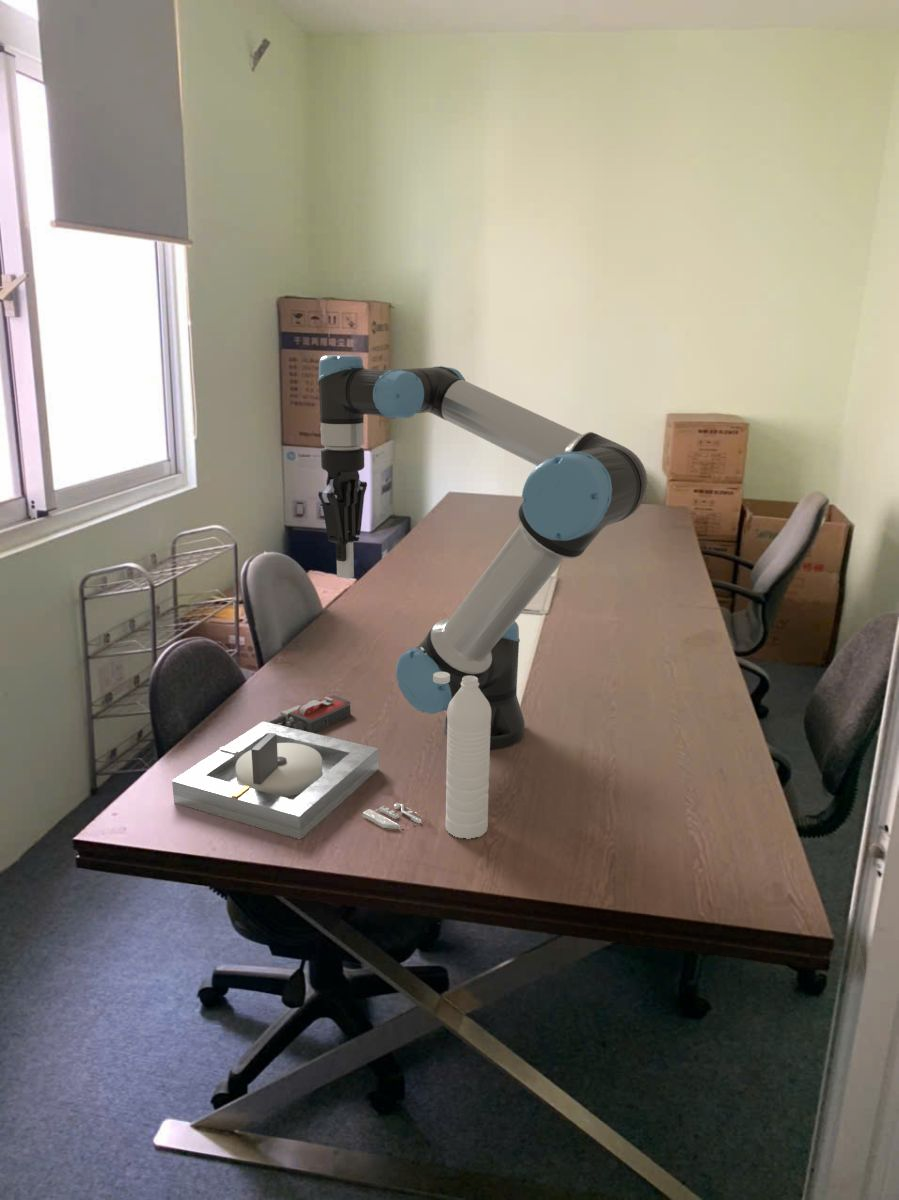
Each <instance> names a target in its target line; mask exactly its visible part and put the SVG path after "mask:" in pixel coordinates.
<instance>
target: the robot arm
mask: <svg viewBox="0 0 899 1200" xmlns="http://www.w3.org/2000/svg"><path fill="white" fill-rule="evenodd" d="M317 383H318V390H319V391H318V392H319V393H318V394H319V422H320V428H319V430H320V444H321V445H322V446H324V447H322V448H321V450H320V461H321V462H320V463H321V465H320V466H321V468H322V469H323V470H324V471H326V472H327V478H326V488H325V490H320V491H318V498H319V501H320V502H321V506H322V512H323V517H324V519H323V520H324V524H325V529H326V535H327V541H328V542H330V543H334V544H335V553H336V554H335V555H336V556H335V558H336V578H343V579H348V580H349V579H352V578H355V567H354V566H355V565H354V564H355V563H354V562H355V561H354V554H355V553H354V551H355V550H354V542H359V541H360V537H358V536H360V535H361V531H362V521H363V513H364V512H363V511H364V502H365V494H366V491H367V487H368V483H367V481H361V479H360V473H359V471H362V470H364V468H365V449H364V448H363V447H362V446H363V445H364V444H365V431H364V429H365V428H364V427H365V426H364V424H365V423H364V421H365V417H364V416H365V415H369V416H375V417H376V416H377V417H383V418H385V417H386V418H389V419H394V420H395V419H410V418H413V417H414V416H415V415H416V414H424V413H429V414H432V415H434V416H437V417H438V418H440V419H442V420H445V421H446V422H449V423H451V424H453V425H455V426H457V427H458V428H461V429H462V430H464V431H467V432H469V433H471V434H473V435H475V436H477V437H479V438H480V439H483V440H485V441H486V442H489V443H491V444H493V445H495V446H496V447H498V448H500V449H503V450H505V451H506V452H509V453H510V454H513V455H515V456H517V457H519V458H520V459H522V460H524V461H526V462H529V463H531V464H532V465H534V466H536V467H535V468H533V470H532V471H531V472H530V473H529V475H528V477H527V478H526V479H525V482H524V485H523V488H522V493H521V497H522V498H523V502H522V503H521V504H520V506H519V507H518V509H517V519H518V523H519V524H518V526H517V527H516V528H515V529H514V531H513V532H512V534H511V536H509V538H508V539H507V540H506V542H505V543H504V545H503V546H502V547H501V549H500V550H499V551H498V553H497V554H496V556H495V557H494V558H493V559H492V561H491V563H489V565H488V567H487V568H486V569H485V571H484V572H483V573H482V575H481V576H480V577H479V578H478V580H477V582H476V583H475V584H474V585H473V587H472V588H471V589H470V591H469V592H468V594H467V595H466V597H465V598H464V599H463V601H462V602H461V603H460V604H459V606H458V608H456V610H455V611H454V613H453V614H452V615H451V617H450V618H444V619H441V620H438V621H437V622H436V623H435V624H434V625H433V627H431V628H430V630H429V631H428V633H427V634H426V636H425V637H424V638H423V640H422V641H421V642H420V643H419V644H418V645H417V646H415V647H411V648H409V649H407V650H406V651H405V652H403V653H401V655H400V656H399V658H398V659H397V662H396V665H395V676H396V680H397V685H398V688H399V691H400V692H401V694H402V696H403V698H404V699H405V700H406V701H407V703H408V704H410V706H411V707H413V708H414V709H415V710H417V711H418V712H421V713H426V714H428V715H435V714H438V713H441V712H444V711H446V712H447V709H448V705H449V703H450V701H451V700H452V698H453V697H454V696H455V694H456V693H457V692H458V690H459V689H460V688H461V682H462V678H463V677H464V676H475V677H477V678H478V683H479V686H478V687H479V689H480V690H481V692H482V693H483V695H484V696H485V697H486V699H487V700H488V702H489V704H490V707H491V728H490V750H499V749H504V748H509V747H511V746H513V745H515V744H518V742H520V741H522V739H523V738H524V735H525V724H526V723H525V718H524V715H523V712H522V709H521V706H520V702H519V698H518V696H517V691H518V690H517V689H518V671H519V669H518V668H519V666H518V665H519V651H520V648H519V646H520V642H521V639H520V630H519V628H520V627H519V625H518V623H517V621H516V620H517V619H518V618H519V616H520V615H521V614H522V613H523V611H524V610H525V609H526V608H527V606H528V605H529V604H530V602H531V601H532V600H533V599H534V598H535V596H536V595H537V594H538V593H539V591H540V590H541V589H542V588H543V586H544V585H545V584H546V583H547V581H548V580H549V579H550V578H551V577H552V575H553V574H554V573H555V572H556V571H557V569H558V568H559V567H560V566H561V564H562V563H563V562H564V561H565V559H577V558H579V557H581V556H582V554H583V553H584V552H585V551H586V549H587V548H588V547H589V546H590V544H592V542H593V541H594V540H595V539H596V537H597V536H598V535H599V534H600V532H602V531H603V530H604V529H605V528H606V527H607V526H610V525H612V524H616V523H618V522H621V521H624V520H625V519H627V518H629V517H631V516H632V515H633V514H634V513H635V512H636V511H637V510H638V509H639V508H640V507H641V505H642V503H643V502H644V500H645V497H646V494H647V492H648V491H647V489H648V484H649V483H648V482H649V481H648V477H647V476H648V475H647V471H646V469H645V466H644V463H643V462H642V461H641V459H640V458H639V457H638V455H637V454H635V452H633V451H632V450H631V449H629V448H628V447H626V446H623V445H622V444H619V443H617V442H615V441H613V440H611V439H608V438H607V437H604V436H602V435H599V434H598V433H595V432H593V431H587V432H585V433H583V434H582V433H579V432H577V431H575V430H573V429H571V428H568V427H566V426H564V425H562V424H560V423H558V422H555V421H553V420H550V419H548V418H546V417H544V416H543V415H540V414H539V413H535V412H533V411H532V410H529V409H527V408H525V407H523V406H521V405H519V404H516V403H515V402H512V401H510V400H508V399H505V398H503V397H502V396H499V395H497V394H494V393H493V392H490V391H488V390H486V389H484V388H482V387H480V386H477V385H475V384H474V383H470V382H469V381H466V378H465V377H464V376H463V374H462V373H461V372H460V371H459V370H458V369H456V368H454V367H446V366H442V365H440V366H432V367H419V368H418V367H417V368H416V367H415V368H401V369H400V368H396V369H394V368H393V369H392V368H391V369H375V368H373V369H372V368H370V369H368V368H365V367H364V359H363V358H362V357H361V356H360V355H354V354H353V355H352V354H326V355H323V356H321V357H320V358H319V362H318V379H317ZM436 672H447V673H449V674H450V682H448V683H445V684H438V683H435V682H434V681H433V674H434V673H436ZM448 681H449V680H448ZM437 682H438V681H437ZM445 682H447V681H445ZM447 723H448V722H447V714H445V719H444V734H445V736H446V737H447Z"/></svg>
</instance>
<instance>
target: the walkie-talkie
mask: <svg viewBox="0 0 899 1200" xmlns="http://www.w3.org/2000/svg"><path fill="white" fill-rule="evenodd" d="M349 717H351V702H350V700H348V699H344V698H342V697H339V696H337V695H334V694H332V695H329V696H324V698H321V699H318V700H316V699H313V700H310V701H308V702H307V703H304V704H299V705H295V706H293V707H290V708H289V709H287V710H281V712H280V716H278V717H276V718H274V719H272V720H269V721H267V722H268V723H272V724H276V725H279V724H283V723H285V725H286V727H290V728H293V729H298V730H302V731H306V732H310V733H316V732H318V731H321V730H323V729H326V728H327V727H329V726H331V725H334V724H335V723H339V722H340V721H342V720H345V719H347V718H349Z"/></svg>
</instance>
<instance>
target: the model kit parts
mask: <svg viewBox="0 0 899 1200" xmlns="http://www.w3.org/2000/svg"><path fill="white" fill-rule="evenodd" d="M393 809H395V810H393ZM393 809H391V810H390V808H389V807H386V805H382V806H381V807H379V808H377V809H375V810H373V809H371V808H369V809H366V810H365V811H362V818H363V817H364V819H365V818H366V819H365V820H367V819H368V820H367V821H369V820H370V821H372V822H374V823H375V824H374V823H373V824H374V825H376V824H377V825H379V826H381V827H382V828H381V827H380V828H381V829H383V828H388V829H387V830H391V829H400V826H401V824H399V823H397V822H395V821H393V820H395V819H396V820H397V818H398V819H399V818H400V815H401V814H402V815H405V816H408V817H409V818H410V821H411V820H413V821H414V822H413V821H412V822H413V823H415V822H417V823H421V822H422V819H421V818H420V817H418V816H416V815H414V814H412V813H413V811H411V810H412V809H411V808H409V807H407V809H408V810H405V805H404V803H400V802H395V803H394V804H393ZM396 810H400V815H399V813H398V812H396V813H395V811H396ZM377 811H379V812H381V813H382V814H384V815H386V816H387V815H388V816H387V817H386V816H384V815H382V814H380V813H378V812H377ZM403 813H404V814H403ZM414 813H416V814H417V813H418V812H416V811H415V812H414ZM389 816H390V817H389ZM388 817H389V818H388ZM391 817H392V818H391ZM390 818H391V819H393V818H394V819H393V820H391V819H390ZM370 821H369V822H370ZM372 822H371V823H372ZM417 823H416V824H417ZM421 824H422V823H421ZM377 825H376V826H377ZM379 826H378V827H379ZM389 828H391V829H389Z"/></svg>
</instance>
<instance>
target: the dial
mask: <svg viewBox="0 0 899 1200" xmlns="http://www.w3.org/2000/svg"><path fill="white" fill-rule="evenodd" d="M321 776H322V757H321V755H320V753H319V752H318V751H316V750H315V749H313V748H311V747H309V746H306V745H302V744H297V743H277V734H275V733H269V734H268V735H267V736H266V737H264V738H263V739H262V740H261V741H260V742H259V743H258V744H257V745H256V746H254V747H253V748H252V749H251V750H250V751H248V752H246V753H244V754H243V755H242V756H241V757H240V758H239V759H238V760H237V763H236V779H237V784H238V785H240V786H248V787H249V788H251V789H255V790H259V791H262V792H266V793H270V794H273V795H277V796H281V797H287V796H292V795H296V794H299V793H302V792H303V791H304V790H306V789H307V788H308V787H309V786H310V785H312V784H313V783H314V782H315V781H317V780H318V779H319V778H320V777H321Z"/></svg>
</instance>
